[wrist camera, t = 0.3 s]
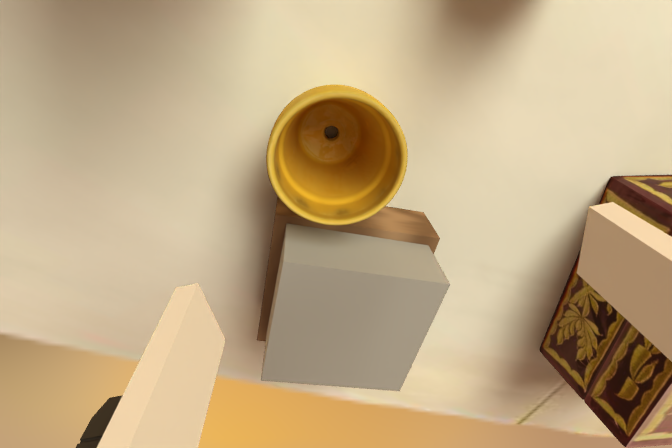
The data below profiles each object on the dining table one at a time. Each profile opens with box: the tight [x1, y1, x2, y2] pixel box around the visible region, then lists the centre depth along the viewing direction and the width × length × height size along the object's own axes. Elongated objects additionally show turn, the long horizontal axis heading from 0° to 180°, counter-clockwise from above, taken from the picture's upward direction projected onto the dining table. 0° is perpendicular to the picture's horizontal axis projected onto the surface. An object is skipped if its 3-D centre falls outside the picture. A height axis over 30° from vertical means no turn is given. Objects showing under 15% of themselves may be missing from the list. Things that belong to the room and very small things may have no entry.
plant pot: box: [266, 85, 407, 225], centre depth 30 cm, size 10×10×10 cm
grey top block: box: [261, 223, 450, 391], centre depth 35 cm, size 14×14×6 cm
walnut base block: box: [257, 197, 440, 341], centre depth 40 cm, size 16×16×6 cm
